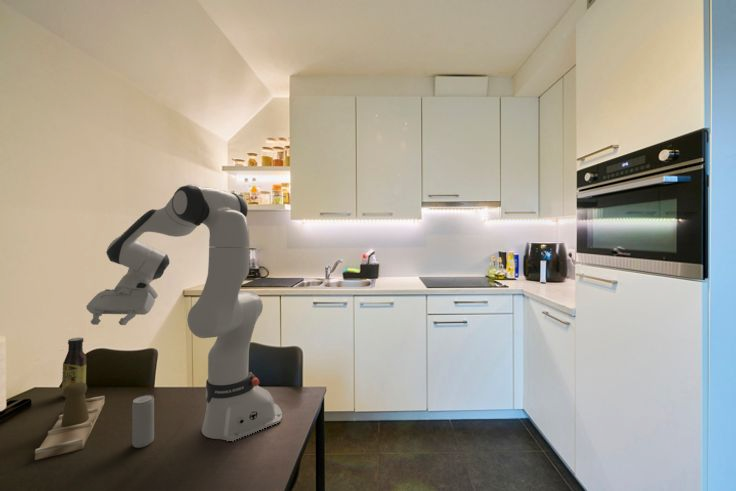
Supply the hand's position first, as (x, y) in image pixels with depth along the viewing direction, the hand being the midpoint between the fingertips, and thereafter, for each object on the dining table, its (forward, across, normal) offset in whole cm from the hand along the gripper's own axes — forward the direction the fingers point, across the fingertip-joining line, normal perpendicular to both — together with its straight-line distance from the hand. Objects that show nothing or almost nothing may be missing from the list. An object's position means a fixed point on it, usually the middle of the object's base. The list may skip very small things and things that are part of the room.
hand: (107, 324), depth 105 cm
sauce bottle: (+14, -19, +25) cm, 34 cm away
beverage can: (+32, +25, +7) cm, 42 cm away
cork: (+26, 0, +10) cm, 28 cm away
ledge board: (+27, 0, +11) cm, 30 cm away
